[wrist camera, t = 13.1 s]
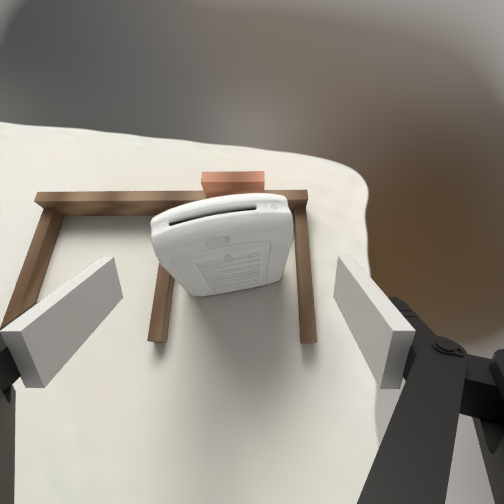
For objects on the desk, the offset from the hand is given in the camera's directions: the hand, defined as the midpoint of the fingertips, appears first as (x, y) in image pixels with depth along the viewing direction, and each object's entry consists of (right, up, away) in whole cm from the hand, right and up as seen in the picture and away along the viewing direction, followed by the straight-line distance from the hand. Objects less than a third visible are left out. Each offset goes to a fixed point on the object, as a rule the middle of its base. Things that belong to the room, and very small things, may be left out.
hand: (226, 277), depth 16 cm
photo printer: (0, -1, +12) cm, 12 cm away
